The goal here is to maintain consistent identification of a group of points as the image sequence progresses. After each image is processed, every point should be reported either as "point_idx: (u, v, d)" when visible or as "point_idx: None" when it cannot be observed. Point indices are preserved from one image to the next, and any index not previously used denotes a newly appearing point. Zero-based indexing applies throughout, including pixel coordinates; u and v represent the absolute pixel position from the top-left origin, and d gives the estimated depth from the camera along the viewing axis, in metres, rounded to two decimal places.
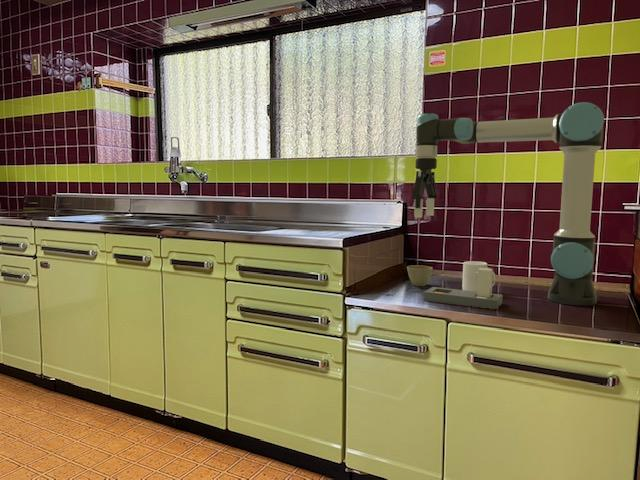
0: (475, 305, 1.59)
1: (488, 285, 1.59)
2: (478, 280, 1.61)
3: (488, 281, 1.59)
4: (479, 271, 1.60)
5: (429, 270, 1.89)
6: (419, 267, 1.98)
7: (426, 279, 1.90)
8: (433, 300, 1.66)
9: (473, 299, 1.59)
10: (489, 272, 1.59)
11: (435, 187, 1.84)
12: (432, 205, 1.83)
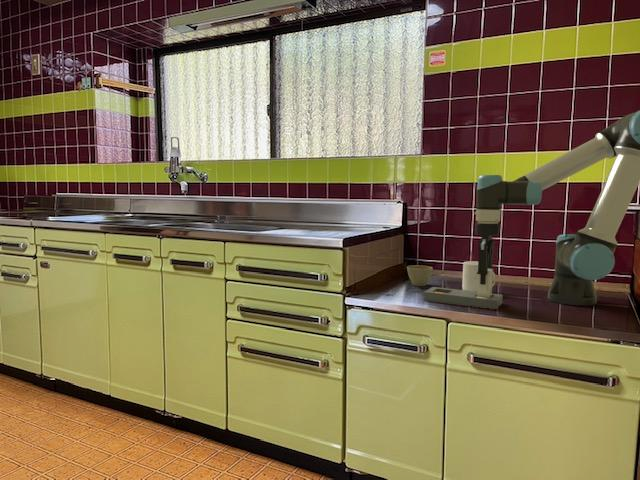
0: (475, 305, 1.59)
1: (488, 285, 1.59)
2: (478, 280, 1.61)
3: (488, 281, 1.59)
4: None
5: (429, 270, 1.89)
6: (419, 267, 1.98)
7: (426, 279, 1.90)
8: (433, 300, 1.66)
9: (473, 299, 1.59)
10: (489, 272, 1.59)
11: (492, 258, 1.65)
12: None
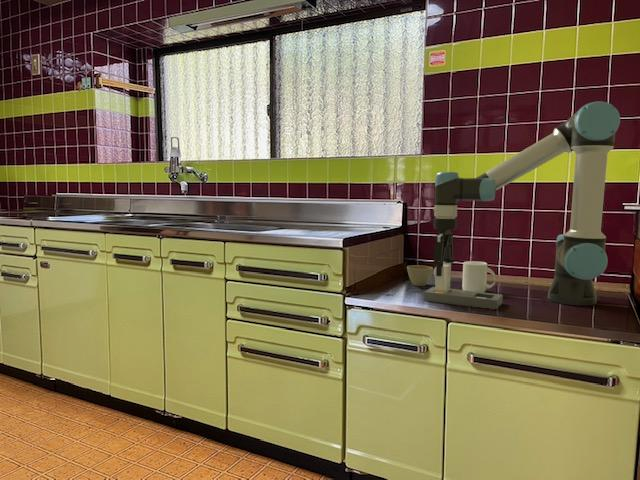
0: (475, 305, 1.59)
1: (445, 281, 1.66)
2: None
3: (445, 277, 1.66)
4: None
5: (429, 270, 1.89)
6: (419, 267, 1.98)
7: (426, 279, 1.90)
8: (433, 300, 1.66)
9: (473, 299, 1.59)
10: (446, 268, 1.66)
11: (452, 250, 1.73)
12: None
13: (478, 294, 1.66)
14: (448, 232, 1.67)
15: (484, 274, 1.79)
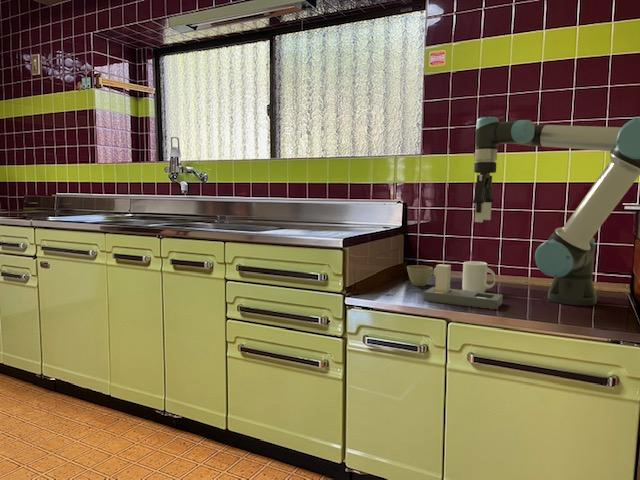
0: (475, 305, 1.59)
1: (445, 280, 1.66)
2: (436, 276, 1.68)
3: (445, 277, 1.66)
4: (437, 267, 1.67)
5: (429, 270, 1.89)
6: (419, 267, 1.98)
7: (426, 279, 1.90)
8: (433, 300, 1.66)
9: (473, 299, 1.59)
10: (446, 268, 1.66)
11: None
12: (489, 209, 1.81)
13: (478, 294, 1.66)
14: (488, 178, 1.75)
15: (484, 274, 1.79)
